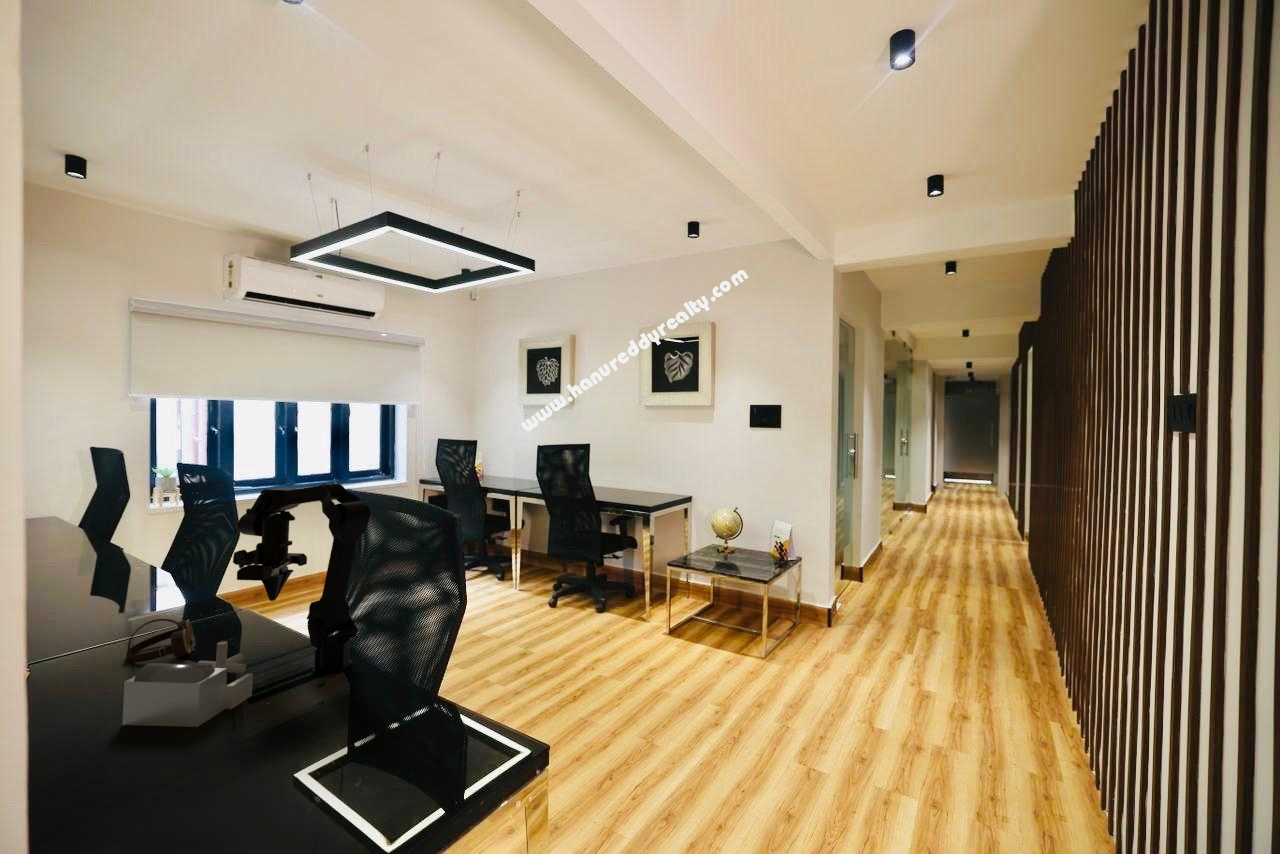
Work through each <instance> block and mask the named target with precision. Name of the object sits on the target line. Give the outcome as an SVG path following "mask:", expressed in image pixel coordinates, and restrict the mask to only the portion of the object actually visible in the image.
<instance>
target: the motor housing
mask: <svg viewBox="0 0 1280 854" xmlns="http://www.w3.org/2000/svg"><path fill="white" fill-rule="evenodd" d="M227 676H228V672H227V668H214V667H213V666H212V665H198V664H197V663H196V664H192V663H190V664H188V663H187V664H186V663H159V662H157V663H156V662H155V663H154V662H153V663H147V664H146V665H144V666H143V667H141V668H140V670H138V672H137V673H136V674H135V675H130V676H129V677H127V680H125V681H124V683H123V684H124V687H123V703H122V704H123V706H122V708H123V709H122V724H121V725H122V726H146V727H147V726H151V727H152V726H153V727H154V726H155V727H190V728H193V727H195V728H199V726H201V725H203V724H205V723H206V722H207V721H209V720H210V719H212V718H214V717H215V716H216V715H218V714H219V713H221V712H223V711H224V710H232V709H233V708H235V707H237V706H238V705H240V704H242V703H243V702H244V701H246V700H247V699H249V698H251V697H252V696H253V682H254V673H246V674H244V675H243V676H241V677H239V678H237V679H235V680H234V681H233V682H230V683H229V684H227V680H228V677H227Z"/></svg>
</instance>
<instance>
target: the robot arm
mask: <svg viewBox="0 0 1280 854" xmlns="http://www.w3.org/2000/svg"><path fill="white" fill-rule="evenodd" d="M334 501H337V502H338V503H336V504H335V502H334ZM314 502H320V503H321V510H322V513H323V514H324V515H325V517H326V518H327V519H328V529H329V531H330V534H331V536H332V538H333V539H332V540H333V541H332V545H331V551H330V555H329V561H328V564H327V570H326V574H325V578H324V584H323V589H322V593H321V594H322V595H321V597H320V598H319V599H318V600H314V601H312V602H310V604H309V607H308V614H307V616H306V620H307V631H308V637H309V641H310V642H309V643H310V645H311V646H312V647H314V668H313V669H312V673H323V674H324V673H328V674H329V673H331V674H332V673H333V674H337V673H338V674H339V673H341V672H343V671H344V670H345V669H347V668H348V667H349V666H350V665H352V664H353V663H354V660H352V659H351V639H353V638H356V637H357V635H358V632H359V629H358V627H357V625H356V623H355V622H354V621H353V619H352V617H351V616H350V615H351V614H350V612H351V607H350V604H349V603H348V600H347V599H346V595H347V591H348V586H349V581H350V575H351V571H352V566H353V562H354V556H355V551H356V546H357V543H358V540H359V539H360V537H361V536H362V535H363V534H364V532H365V531H366V530H367V527H368V525H369V522H370V519H371V516H372V515H371V514H372V513H371V512H372V511H371V509H370V507H369V506H368V504H367V503H366V502H365V501H364V500H362V499H361V497H360V496H358V495H356V494H355V493H353V492H351V491H349V490H347V489H346V488H345V487H344V486H343V485H342V484H341V483H338V482H334V483H333V482H332V483H331V482H330V483H322V484H320V485H315V486H308V487H301V488H295V487H278V488H277V487H276V488H264V489H262V490H261V491H260V494H259V495H258V497H257V498H256V500H255V502H254V503H253V505H252V506H251V507H250V508H246V510H245V511H246V513H244V514H243V515H241V517H240V518H239V520H238V522H237V530H238V531H239V533H240V534H242V535H246V536H254V537H261V542H258V543H257V544H256V545H255V549H253V550H250V551H246V549H240V550H238V551H235V552H233V556H232V557H233V558H232V563H233V564H234V565H236V566H238V568H239V569H238V570H237V571H236V580H237V581H261V583H262V584H263V587H264V589H265V591H266V595H267V597H268V600H269V601H270V602H274V601H276V600H277V598H278V597H279V595H280V593H281V591H282V589H283V587H284V586H285V584H286V583H287V581H288V580H289V577H290V576H291V574H292V573H293V572H294V569H289V565H292V564H293V565H298V566H299V567H301V566H304V565H307V564H308V557H307V555H306V554H305V553H304V552H303V553H302V552H300V553H299V552H295V553H294V552H292V553H291V552H289V546H292V545H293V540H290V539H289V538H290V537H289V536H290V522H292V521H295V520H296V517H295V516H294V514H292V513H291V512H290V510H292V509H294V508H298V507H299V505H302V504H307V503H314ZM331 634H332V635H331Z"/></svg>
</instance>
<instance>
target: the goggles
mask: <svg viewBox="0 0 1280 854" xmlns="http://www.w3.org/2000/svg"><path fill="white" fill-rule="evenodd" d="M155 622H170V623H174V625H176V626H177V628H174V629H171V630H167V631H165V632H161V633H159V634H156V635H154V636H151V637H149V638H146V639H144V640H142V641H140V642H138V643H136V644H135V645H133V646H131V647H130V645H131V641H132V639H133V637H134V635H135V634H136V633H137V632H138V630H140V629H142V628H143V627H144V626H146V625H149V624H152V623H155ZM169 639H170V645H168V646H161V647H159V648H158V649H157V650H153V651H149V652H144V653H139V652H140V651H143V650H144V649H146V648H149V647H151V646H153V645H155V644H158V643H161V642H163V641H166V640H169ZM191 643H192V644H191ZM196 645H197V643H196V639H195V635H194V631H193V626H192V623H191V620H190V619H186V620H182V621H176V620H174V619H169V618H156V619H152V620H150V621H147V622H145V623H143V624H142V625H141V626H139V627H137V629H136V630H135V631H134V632H133V633H132V634H131V636H130V638H129V640H128V645H127V651H126V655H125V659H126V660H127V661H129V662H130V663H144V662H148V661H152V660H156V659H159V658H161V659H164V658H167V657H168V656H169V655H172V654H173V655H174V657H175V659H178V658H181V657H183V656H185V655H188V654H191V652H194V651H195V650H196V649H195V647H196Z"/></svg>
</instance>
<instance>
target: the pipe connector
mask: <svg viewBox="0 0 1280 854" xmlns="http://www.w3.org/2000/svg"><path fill="white" fill-rule="evenodd" d="M228 644H229V643H228V641H225V640H224V641H220V642H217V643H216V658H215V661H211V660H199V661H197V662H196V664H198V665H212V666H213V667H214V668H227V673H233V674H234V673H236V674H243V673H244V672H245V671H246V669H247V665H246V663H241V662H243V661H244V658H245V657H244V654H243V653H237V654H235V655H233V656H231V657H229V658H228Z"/></svg>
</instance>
